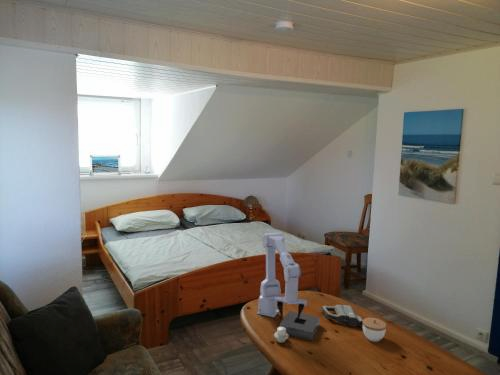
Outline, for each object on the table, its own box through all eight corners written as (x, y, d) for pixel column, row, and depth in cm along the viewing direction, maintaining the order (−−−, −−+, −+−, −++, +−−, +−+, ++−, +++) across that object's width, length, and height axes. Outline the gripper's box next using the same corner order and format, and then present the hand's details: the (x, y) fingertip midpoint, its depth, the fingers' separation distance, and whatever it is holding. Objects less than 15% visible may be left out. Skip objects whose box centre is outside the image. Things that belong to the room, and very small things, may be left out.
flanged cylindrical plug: (272, 342, 173) (272, 330, 172) (276, 335, 179) (277, 324, 178) (285, 345, 170) (286, 333, 170) (290, 338, 176) (290, 327, 176)
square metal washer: (279, 332, 181) (279, 324, 181) (288, 318, 196) (289, 310, 195) (311, 340, 175) (312, 332, 175) (319, 325, 190) (319, 317, 189)
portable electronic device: (347, 310, 208) (348, 301, 207) (366, 328, 188) (367, 318, 187) (319, 312, 204) (320, 303, 203) (336, 331, 184) (337, 321, 184)
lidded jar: (357, 333, 183) (358, 315, 182) (376, 331, 186) (378, 313, 184) (369, 345, 173) (370, 326, 171) (389, 343, 175) (391, 324, 174)
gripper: (274, 292, 172) (273, 320, 173) (306, 295, 169) (305, 324, 171) (276, 286, 178) (275, 313, 180) (307, 289, 176) (305, 316, 178)
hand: (289, 318), depth 176 cm, fingers open, 7 cm apart
